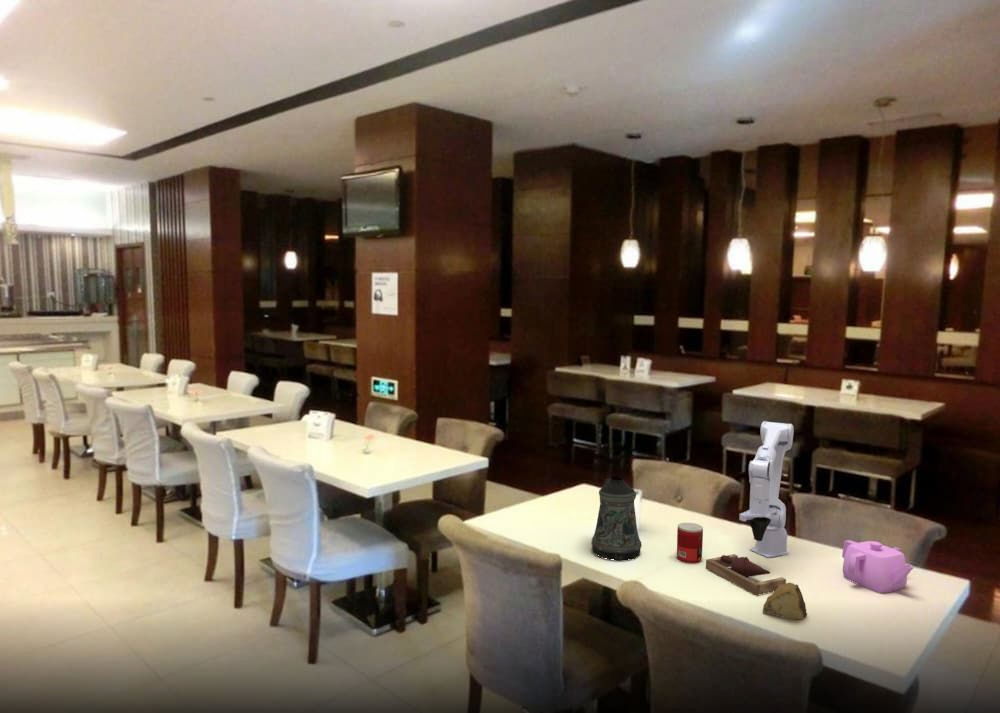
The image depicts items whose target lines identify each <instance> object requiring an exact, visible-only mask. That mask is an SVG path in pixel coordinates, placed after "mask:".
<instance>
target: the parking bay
mask: <svg viewBox="0 0 1000 713" xmlns="http://www.w3.org/2000/svg"><path fill="white" fill-rule="evenodd" d="M726 556H729V557H730V558H732V559H733V560H734V559H736V558H739V557H738V556H739V555H737V554H735V553H734V554H727V555H726ZM730 567H731V564H727V563H725V562H723V561H721V556H717V557H713V558H708V559H705V569H706V570H707V571H709V572H711V573H713V574H715V575H716V574H717V576H719V578H722V579H724V580H726V581H728V582H729V581H730V583H731V584H733V585H735V586H737V587H739V588H741V589H742V588H743V590H744V589H745V591H746V592H748V593H750V594H752V595H754V596H755V595H757V596H760V595H759V594H762V595H764V594H763V593H766V594H769V593H768V592H770V593H773V592H772V591H775V590H776V589H777V588H778V587H779V585H780V584H785V583H787V579H786V578H785V577H783V576H781V577H777V578H773V579H769V580H767V579H766V580H763V581H758V582H756V581H754V580H752V579H750V578H749V577H748V578H746V577H744V576H742V575H740V574H738V573H736V572H734V571H733V570H731V569H729V568H730Z"/></svg>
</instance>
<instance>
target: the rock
mask: <svg viewBox="0 0 1000 713" xmlns="http://www.w3.org/2000/svg"><path fill="white" fill-rule="evenodd" d="M771 593H772V594H770V595H768V596H767V598H766V601H765V602H764V603H763V607H762V613H763V614H766V615H773V616H776V615H778V617H782V616H783V618H787V617H790V618H789V619H795V620H803V619H805V618H806V617H807V615H808V612H807V607H806V602H805V599H804V597H803V593H802V591H801V589H800V586H799V584H795V583H793V582H786V583H785V584H780V585H779V587H778V588H777V589H776V590H775V591H774V592H771Z"/></svg>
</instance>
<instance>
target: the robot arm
mask: <svg viewBox="0 0 1000 713" xmlns="http://www.w3.org/2000/svg"><path fill="white" fill-rule="evenodd" d="M794 431H795V430H794V425H793V423H783V422H774V421H773V422H771V421H766V420H764V421H762V423H761V425H760V437H761V442H762V445H761V446H759V447H758V449H757V451H756V454H755V457H754V458H753V460H750V461H749V464H748V477H749V480H748V481H749V484H750V488H749V489H750V491H749V509H748V510H746V511H744V512H741V513H738V514H739V519H738V520H739V521H741V522H748V523H749V525H750V528H751V531H752V536H753V540H755V541H756V543H755V545H756V546H755V547H751V548H750V549H749V550H750V551H751V552H754V553H756V554H759V555H760V556H763V557H765V558H768V559H769V558H774V557H778V556H779V557H780V556H783V555H788V554H789V552H788V551H787V546H788V532H787V530H786V528H785V525H786V518H787V507H786V505H785V503H784V502H783V501H782V500H781V499H779V497H780V496H779V494H780V486H781V480H782V471H783V464H784V463H783V462H784V457H785V455H786V452H787V451H789V450H791V449H792V446H793V441H794V440H793V439H794Z"/></svg>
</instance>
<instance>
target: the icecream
mask: <svg viewBox="0 0 1000 713" xmlns="http://www.w3.org/2000/svg"><path fill="white" fill-rule="evenodd" d="M720 557H721V561H723V562H725V563H727V564H731V566H730V567H728V568H729V569H731V570H733V571H734V572H736V573H738V574H740V575H742V576H744V577H746V578H748V579H749V578H750V577H757V576H762V575H769V574H771V572H770V571H769V570H768V569H766V568H764V567H762V566H760V565H759V564H756V563H754V562H753V561H751V560H750V559H749V558H748V556H745V557H744V556H741V557H738V558H736V559H734V560H733V559H732V558H730V557H729V556H727V555H725V554H722V555H721V556H720Z"/></svg>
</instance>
